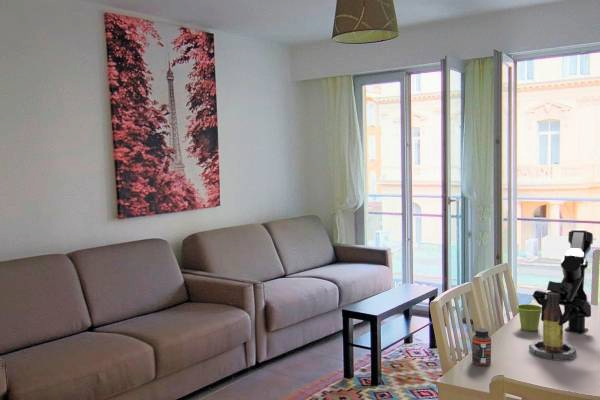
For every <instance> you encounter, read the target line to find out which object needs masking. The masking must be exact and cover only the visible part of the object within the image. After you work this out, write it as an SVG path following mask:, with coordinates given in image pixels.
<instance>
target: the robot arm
mask: <svg viewBox="0 0 600 400" xmlns="http://www.w3.org/2000/svg"><path fill="white" fill-rule="evenodd" d="M593 234H594V233H592V232H589V231H588V230H587V229H586V230H585V229H583V228H582V229H580V228H579V229H578V228H575V229H572V230H571V231H568V243H569V244H570V245H569V246H570V247H569V250H567V251H565V254H564V256H563V257H562V258H561V261H560V267H561V269H562V276H563V278H562V279H561V282H559V281H558V282H555V281H551V280H549V281H548V285H547V288H546V291H548V292H550V291H553V292H559V293H560V298H559V305H560V306H563V312H562V314H563V315H562V317H561V319H560V321H559V326H561V325H563V326H564V324H566V323H567V322H568V327H566V328H564V331H566V332H572V333H577V334H584V333H586V332H588V331H589V328H586V318H590V317H592V306H591V304H590V301H588V295H587V294H586V292H585V290H584V289H585V287H584V285H585V273H586V272H585V271H586V269H587V268H588V266H589V262H588V260H587V258H586V256H587V254H588V253H589V252H590V251H591V246H592V245H593V243H594V235H593ZM546 291H543V290H534V291H533V294H532V295H531V296H532V298H533V299H534V300H535V302H537V305H539V306H541V307H542V310H541V314H540V320H541V321H542V322H543V319H544V310H545V308H546V307H547V306H548V305H547V303H548V297H547V292H546Z"/></svg>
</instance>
